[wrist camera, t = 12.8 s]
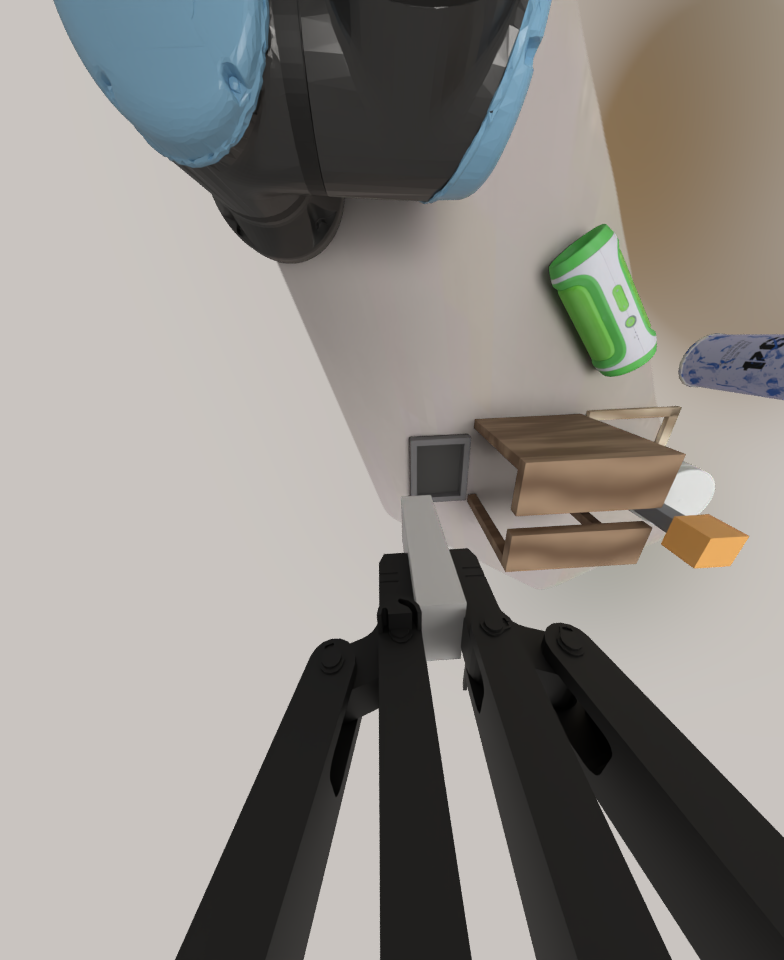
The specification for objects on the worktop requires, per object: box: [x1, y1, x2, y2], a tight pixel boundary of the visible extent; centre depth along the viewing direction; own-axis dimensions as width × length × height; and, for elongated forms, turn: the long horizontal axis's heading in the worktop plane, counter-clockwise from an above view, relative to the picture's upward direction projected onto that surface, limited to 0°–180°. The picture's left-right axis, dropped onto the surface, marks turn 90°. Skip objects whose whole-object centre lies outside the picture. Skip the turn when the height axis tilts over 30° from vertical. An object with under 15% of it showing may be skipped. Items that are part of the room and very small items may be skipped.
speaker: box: [549, 224, 657, 377], centre depth 38 cm, size 18×7×8 cm, turn 42°
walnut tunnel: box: [467, 414, 686, 572], centre depth 43 cm, size 16×18×18 cm
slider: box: [632, 503, 749, 568], centre depth 40 cm, size 12×4×24 cm, turn 2°
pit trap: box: [410, 434, 471, 502], centre depth 51 cm, size 12×10×2 cm
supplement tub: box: [629, 461, 715, 526], centre depth 46 cm, size 10×10×15 cm
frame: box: [586, 406, 681, 446], centre depth 52 cm, size 17×16×1 cm
